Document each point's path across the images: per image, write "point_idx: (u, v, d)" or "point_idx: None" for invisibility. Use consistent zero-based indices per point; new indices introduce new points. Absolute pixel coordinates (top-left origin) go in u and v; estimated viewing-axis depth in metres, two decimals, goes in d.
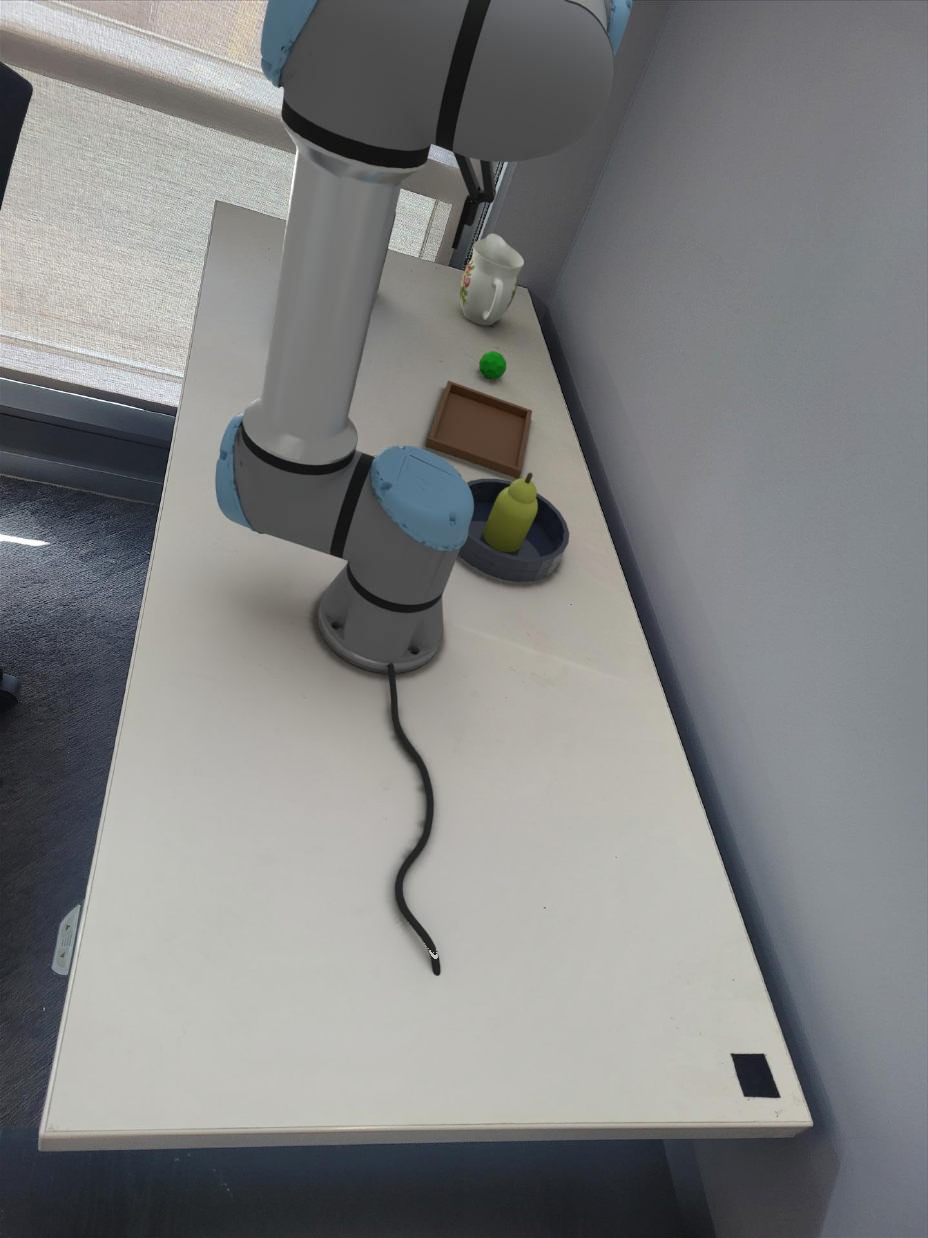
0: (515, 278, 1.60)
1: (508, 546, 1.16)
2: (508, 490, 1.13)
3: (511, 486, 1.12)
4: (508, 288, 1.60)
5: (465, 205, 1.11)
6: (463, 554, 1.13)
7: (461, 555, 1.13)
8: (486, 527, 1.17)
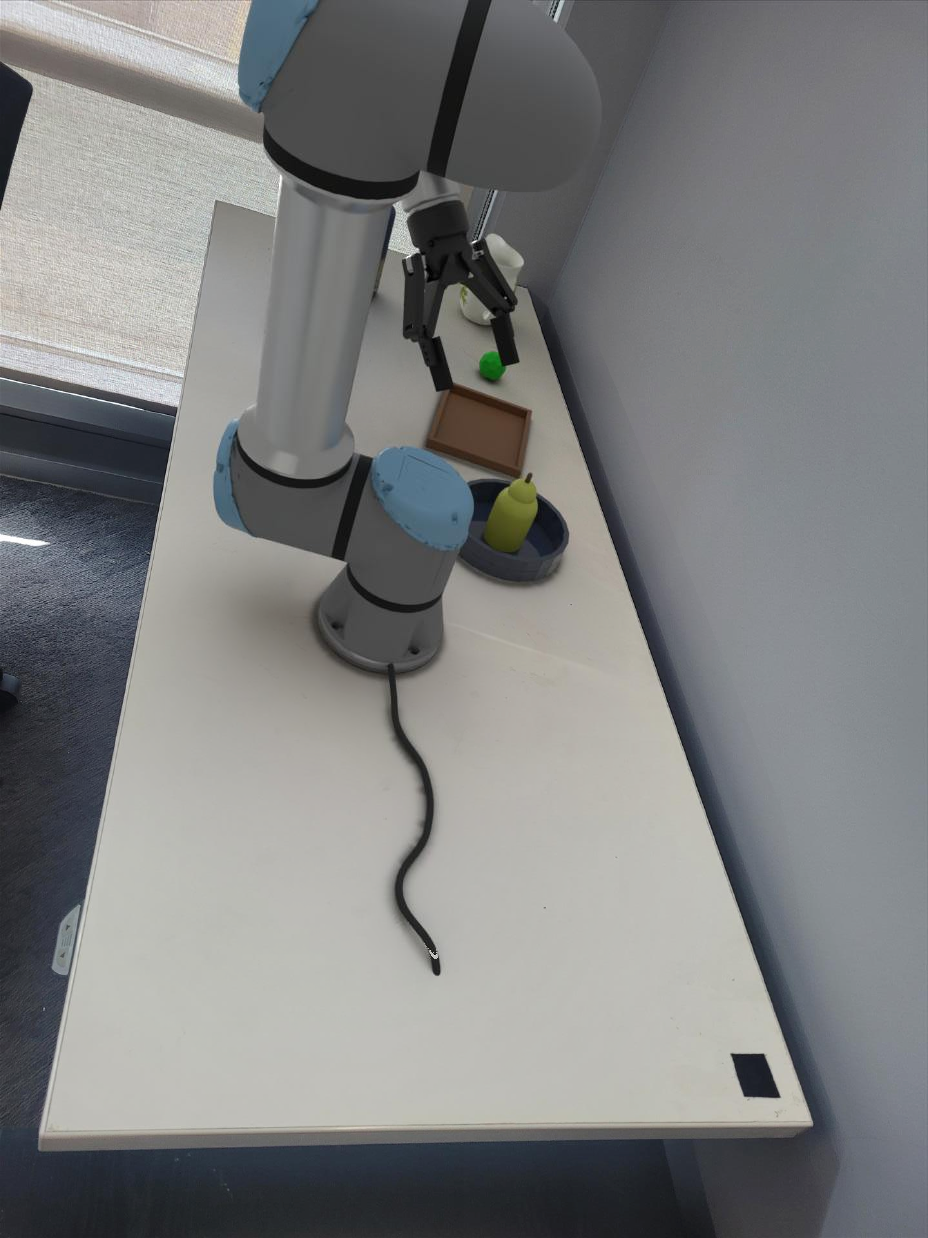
0: (515, 278, 1.60)
1: (508, 546, 1.16)
2: (508, 490, 1.13)
3: (511, 486, 1.12)
4: None
5: (506, 318, 1.11)
6: (463, 554, 1.13)
7: (461, 555, 1.13)
8: (486, 527, 1.17)
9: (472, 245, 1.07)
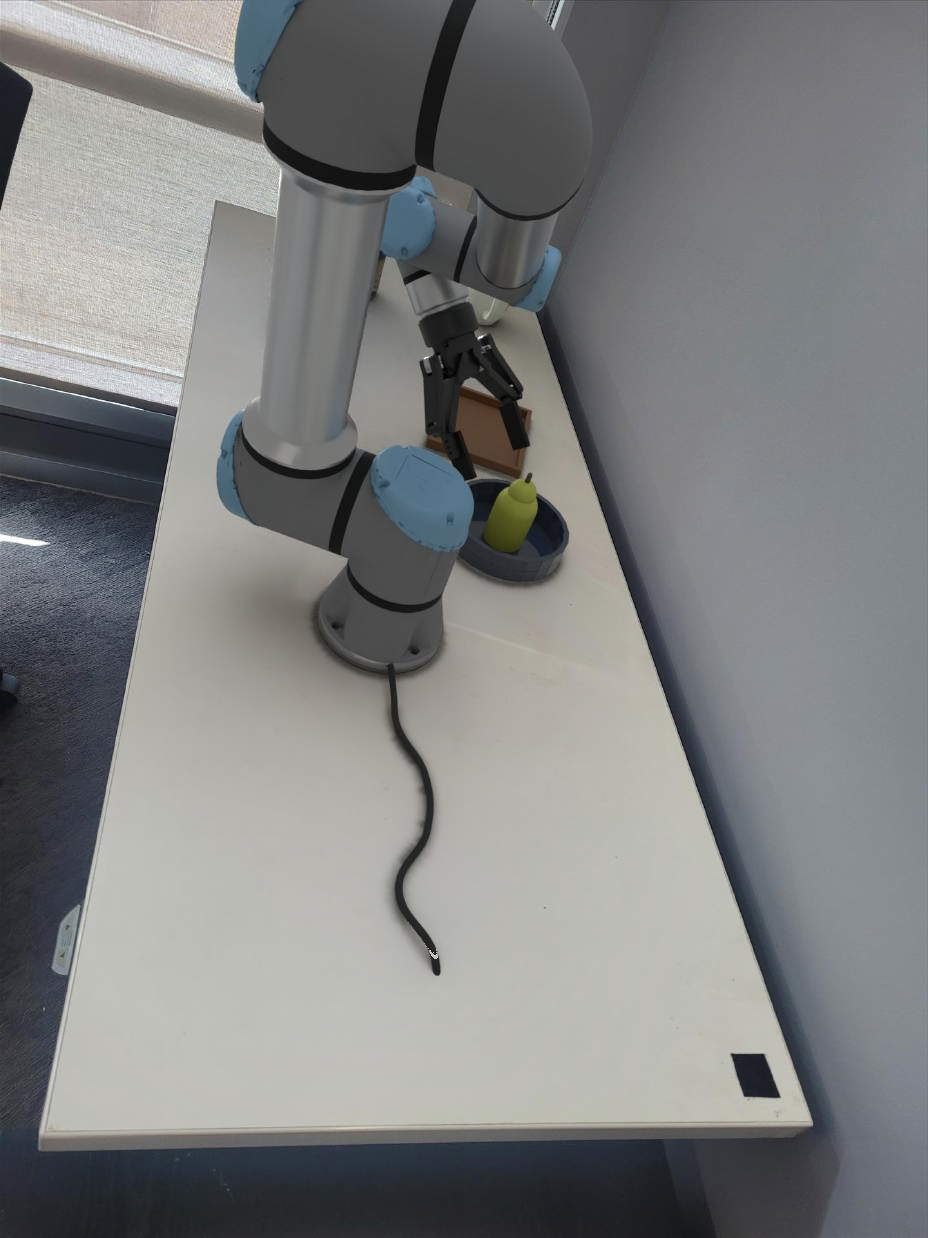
0: None
1: (508, 546, 1.16)
2: (508, 490, 1.13)
3: (511, 486, 1.12)
4: None
5: (515, 406, 1.16)
6: (463, 554, 1.13)
7: (461, 555, 1.13)
8: (486, 527, 1.17)
9: (479, 340, 1.12)
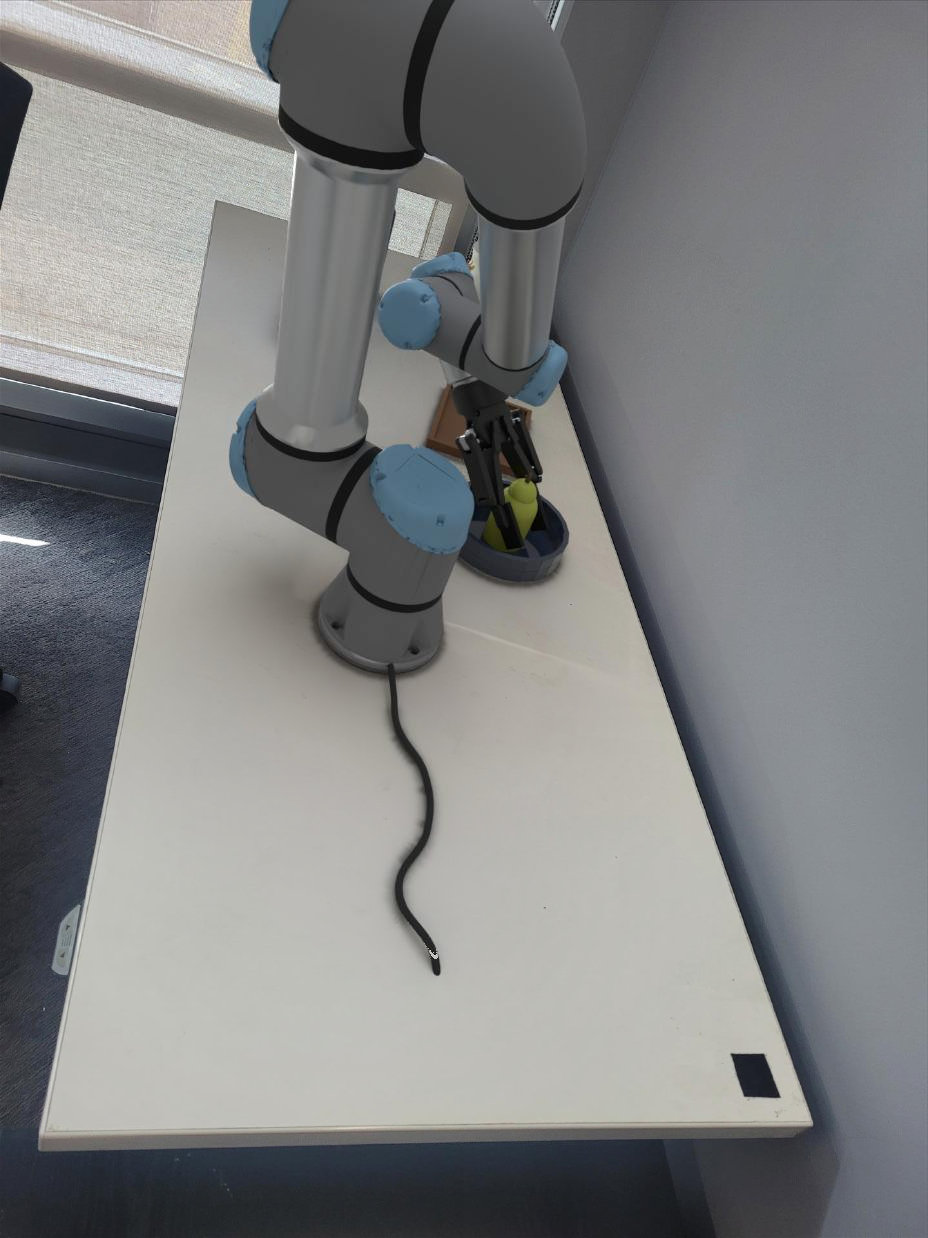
0: None
1: None
2: (508, 490, 1.13)
3: (511, 486, 1.12)
4: None
5: None
6: (463, 554, 1.13)
7: (461, 555, 1.13)
8: (486, 527, 1.17)
9: (511, 411, 1.14)
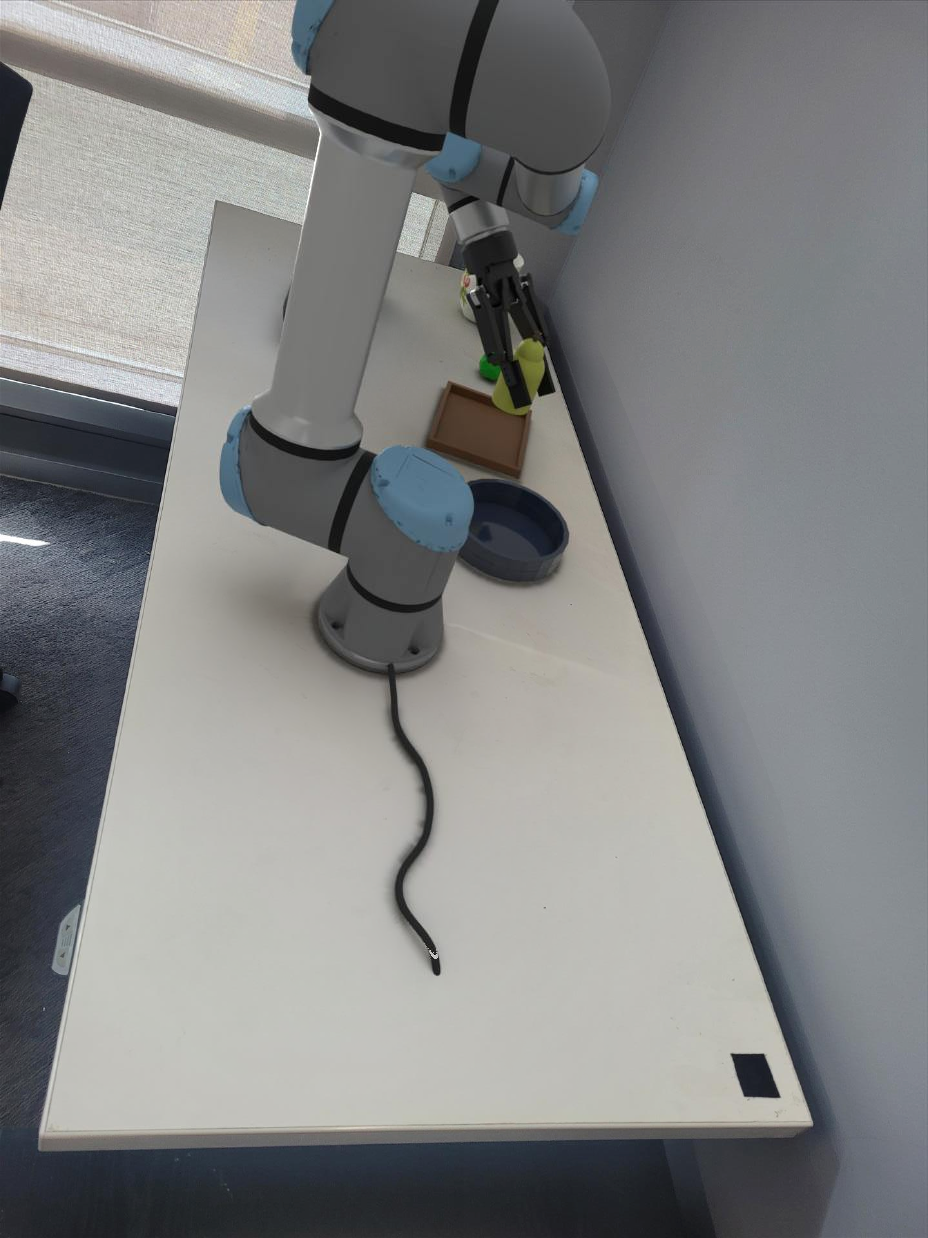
0: None
1: None
2: (516, 350, 1.17)
3: (519, 345, 1.17)
4: None
5: None
6: (463, 554, 1.13)
7: (461, 555, 1.13)
8: (495, 390, 1.22)
9: (519, 275, 1.19)
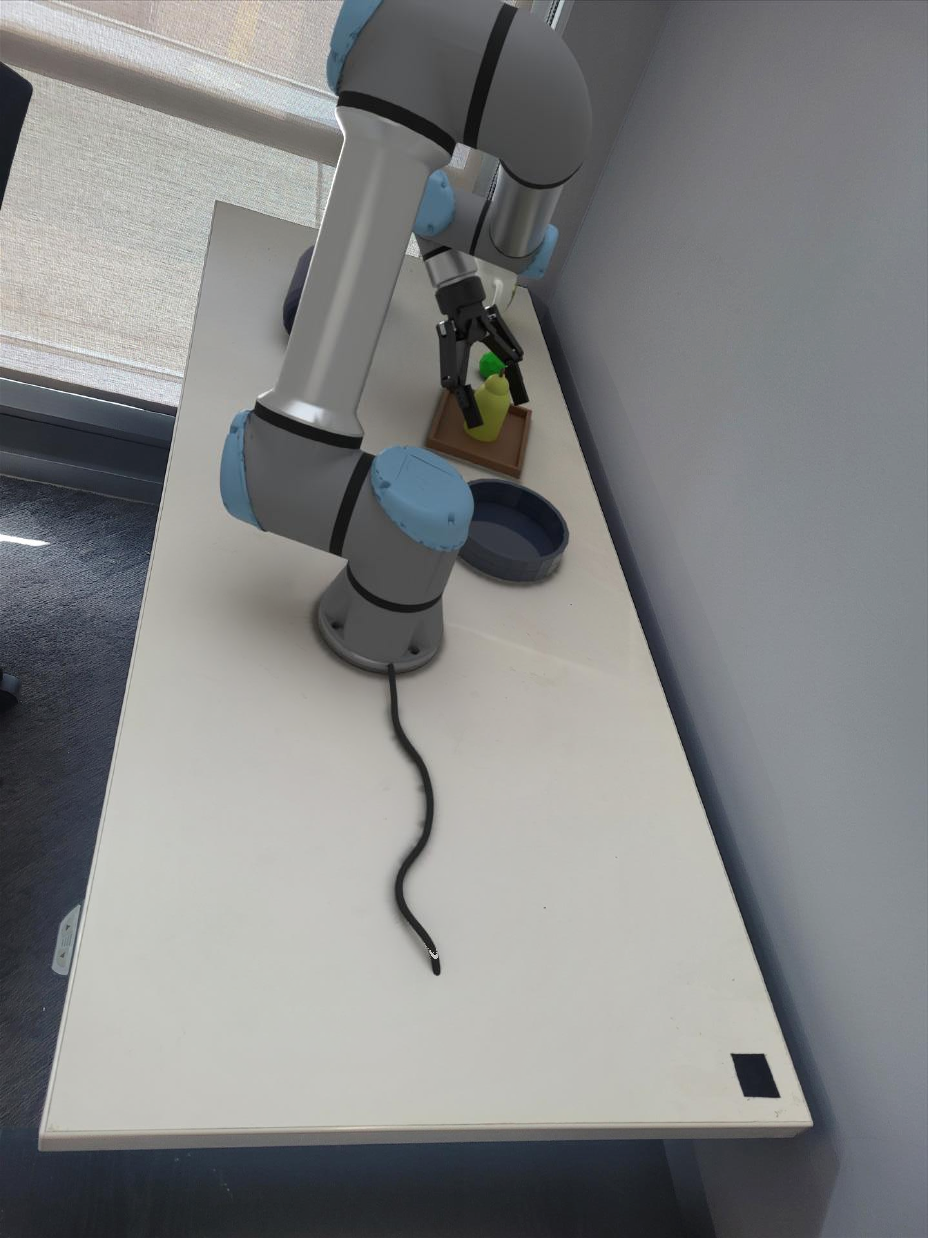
0: (515, 278, 1.60)
1: (485, 436, 1.34)
2: (484, 384, 1.31)
3: (487, 380, 1.30)
4: (508, 288, 1.60)
5: (517, 367, 1.35)
6: (463, 554, 1.13)
7: (461, 555, 1.13)
8: None
9: (486, 310, 1.32)
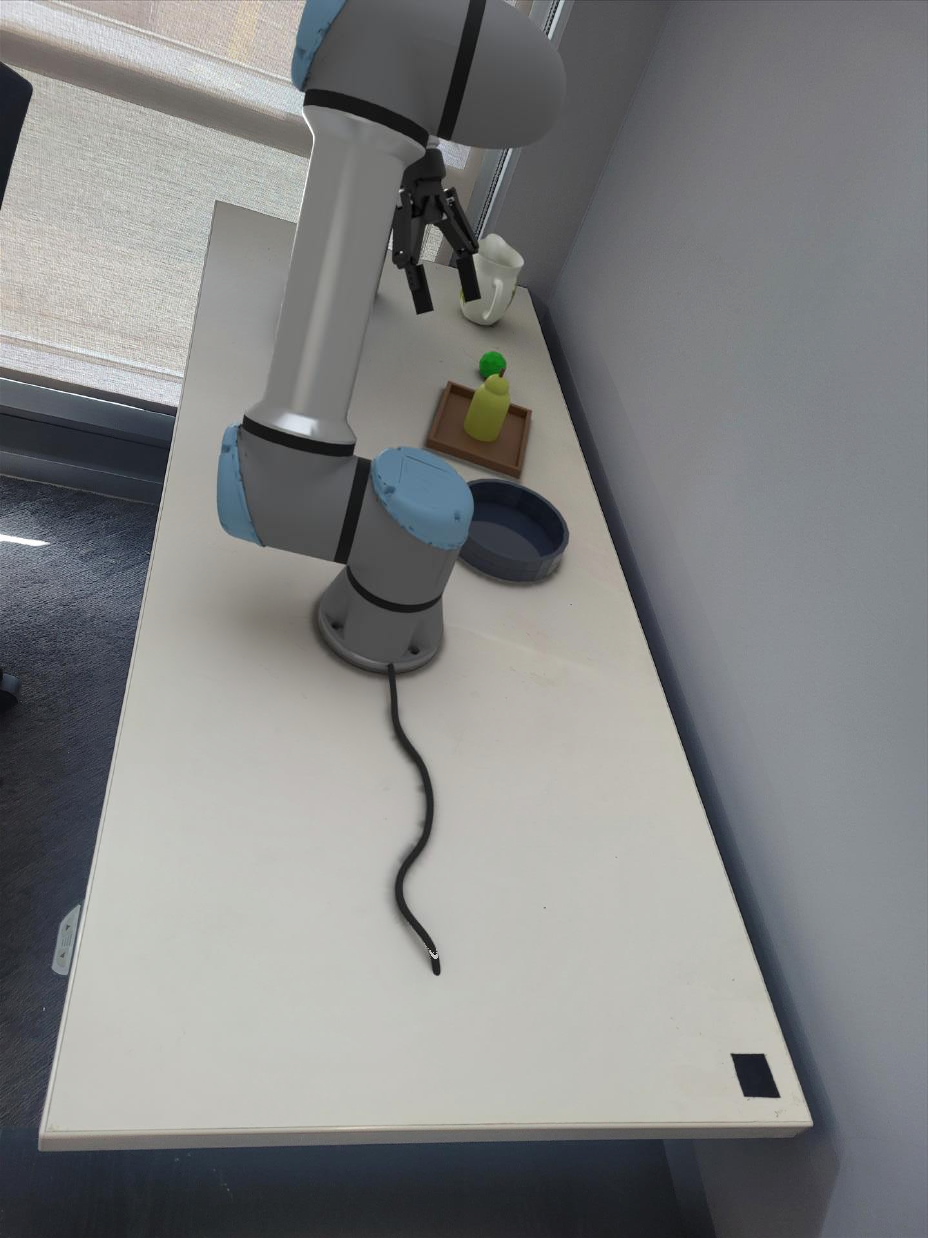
0: (515, 278, 1.60)
1: (485, 436, 1.34)
2: (484, 384, 1.31)
3: (487, 380, 1.30)
4: (508, 288, 1.60)
5: (471, 259, 1.28)
6: (463, 554, 1.13)
7: (461, 555, 1.13)
8: (466, 419, 1.35)
9: (444, 192, 1.24)
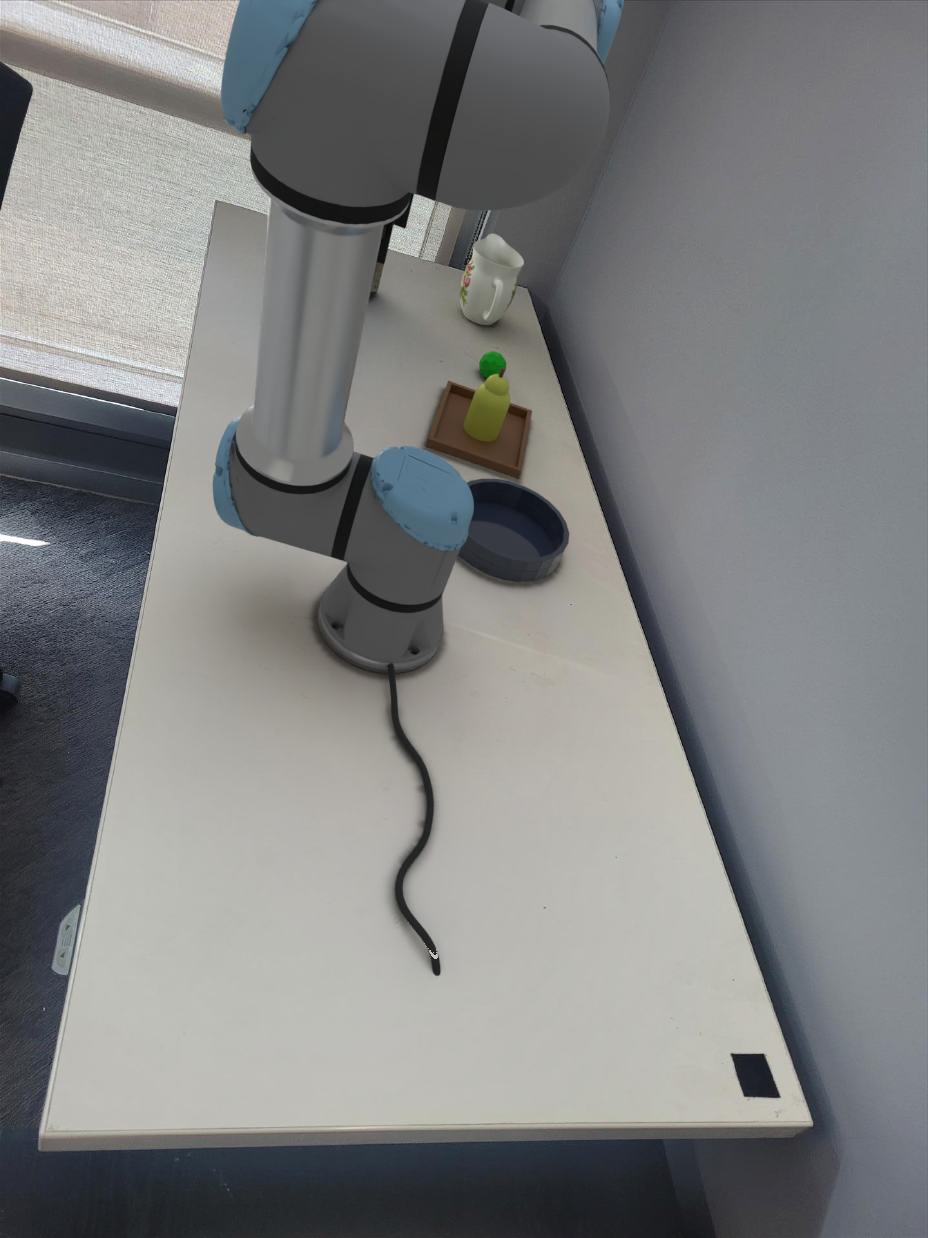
0: (515, 278, 1.60)
1: (485, 436, 1.34)
2: (484, 384, 1.31)
3: (487, 380, 1.30)
4: (508, 288, 1.60)
5: None
6: (463, 554, 1.13)
7: (461, 555, 1.13)
8: (466, 419, 1.35)
9: None
